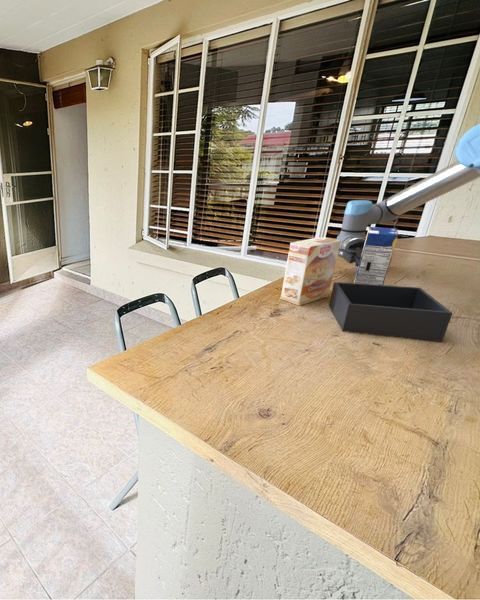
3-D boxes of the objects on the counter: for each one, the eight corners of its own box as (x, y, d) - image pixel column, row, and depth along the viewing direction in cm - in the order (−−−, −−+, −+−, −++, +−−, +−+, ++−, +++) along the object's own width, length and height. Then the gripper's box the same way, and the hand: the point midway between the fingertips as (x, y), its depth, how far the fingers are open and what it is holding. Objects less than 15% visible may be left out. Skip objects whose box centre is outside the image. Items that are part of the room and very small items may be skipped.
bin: (412, 313, 102) (420, 287, 100) (441, 342, 87) (452, 313, 84) (328, 305, 111) (333, 282, 108) (342, 331, 95) (348, 304, 92)
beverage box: (349, 300, 113) (368, 233, 105) (351, 290, 121) (369, 226, 113) (376, 304, 109) (398, 235, 101) (377, 293, 117) (397, 228, 108)
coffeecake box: (299, 306, 112) (310, 246, 104) (279, 299, 118) (288, 242, 111) (329, 296, 117) (342, 239, 110) (309, 290, 123) (319, 235, 116)
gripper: (383, 260, 124) (408, 280, 104) (327, 257, 130) (341, 276, 111) (388, 239, 121) (416, 256, 101) (331, 237, 128) (346, 253, 108)
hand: (377, 266), depth 106 cm, fingers closed on beverage box, 3 cm apart
